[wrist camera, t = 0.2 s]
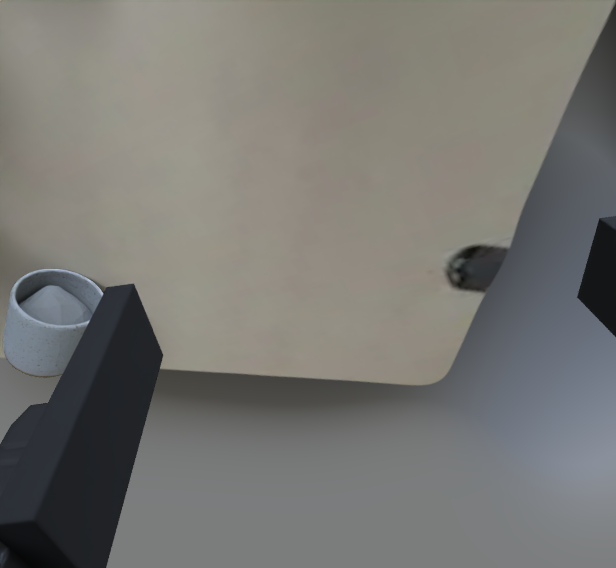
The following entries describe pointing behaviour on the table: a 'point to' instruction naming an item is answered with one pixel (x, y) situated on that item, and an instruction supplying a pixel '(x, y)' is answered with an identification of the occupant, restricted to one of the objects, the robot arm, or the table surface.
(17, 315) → the ceramic mug
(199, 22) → the table surface
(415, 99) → the table surface
